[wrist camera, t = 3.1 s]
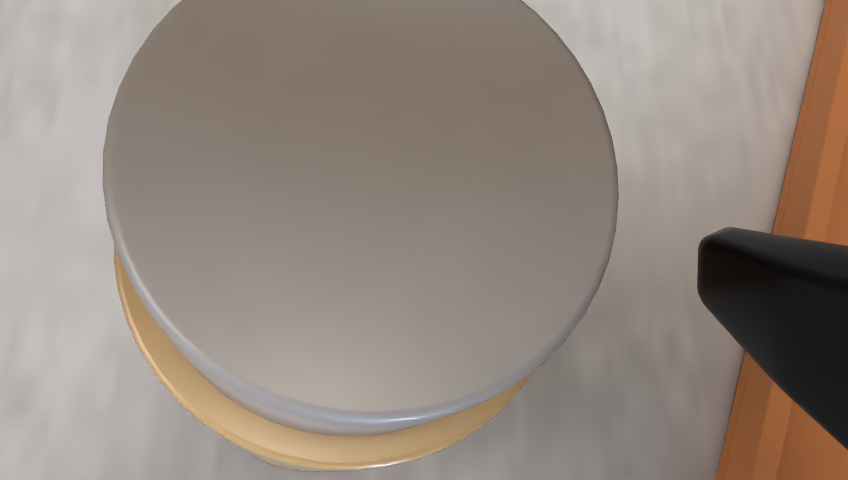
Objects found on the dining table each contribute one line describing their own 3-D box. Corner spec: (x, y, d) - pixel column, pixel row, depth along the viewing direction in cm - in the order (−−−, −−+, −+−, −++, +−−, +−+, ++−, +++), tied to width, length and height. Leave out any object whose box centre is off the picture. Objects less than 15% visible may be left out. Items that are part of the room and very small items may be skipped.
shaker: (409, 467, 18) (693, 458, 6) (205, 474, 17) (19, 483, 5) (403, 275, 19) (625, -70, 7) (214, 274, 18) (84, -122, 6)
